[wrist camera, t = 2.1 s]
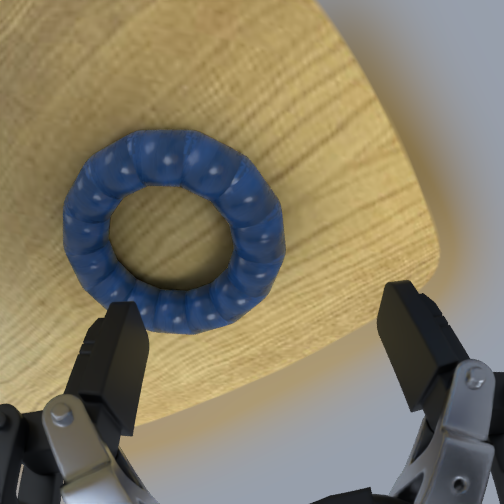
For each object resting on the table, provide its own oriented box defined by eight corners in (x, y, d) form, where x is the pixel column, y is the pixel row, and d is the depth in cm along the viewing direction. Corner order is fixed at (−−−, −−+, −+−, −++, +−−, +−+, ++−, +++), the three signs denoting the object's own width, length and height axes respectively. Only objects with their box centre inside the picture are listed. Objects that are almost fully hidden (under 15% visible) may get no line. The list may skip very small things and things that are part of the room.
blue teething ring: (189, 74, 11) (180, 75, 9) (319, 254, 16) (330, 282, 14) (40, 214, 14) (18, 236, 12) (168, 337, 18) (163, 366, 17)
